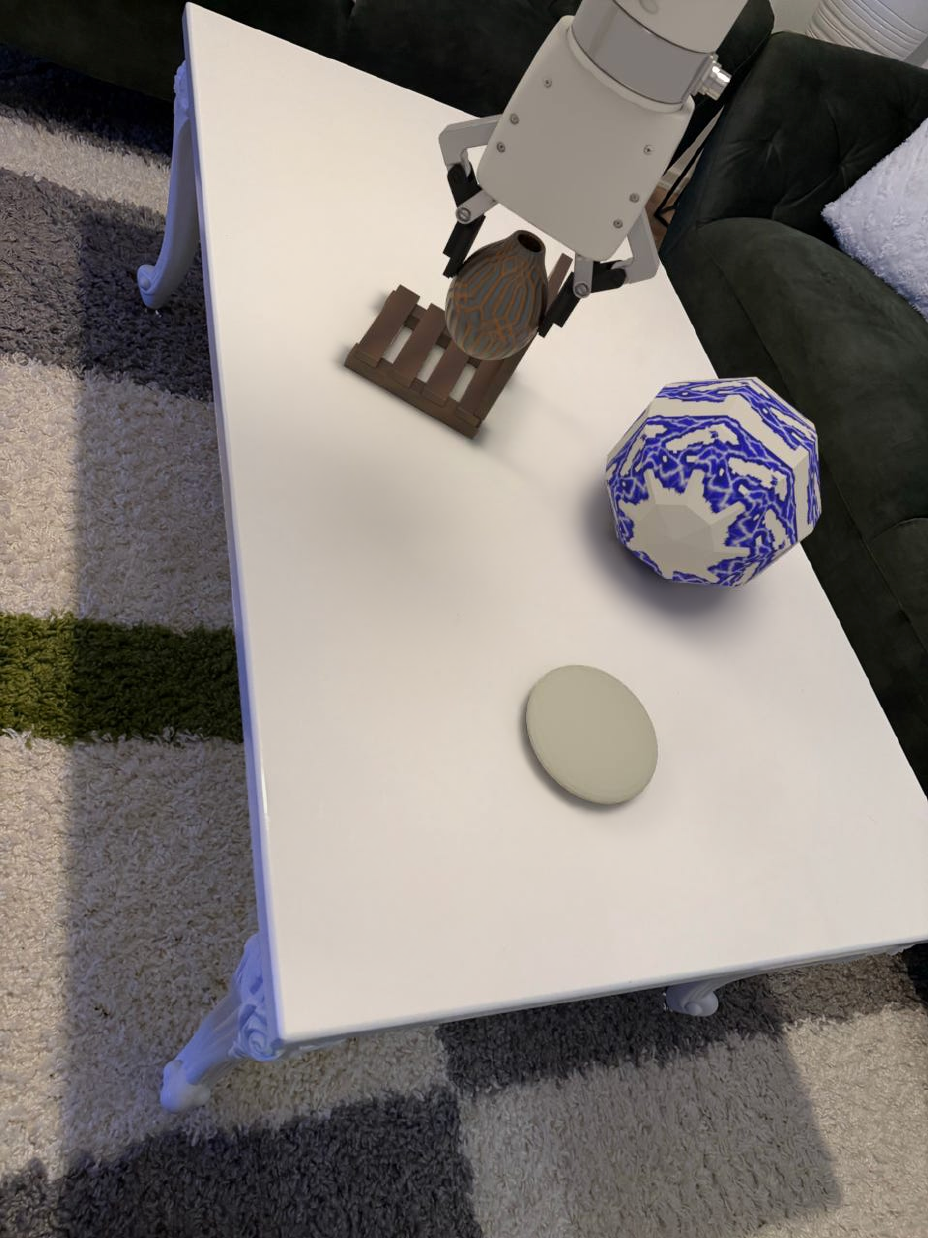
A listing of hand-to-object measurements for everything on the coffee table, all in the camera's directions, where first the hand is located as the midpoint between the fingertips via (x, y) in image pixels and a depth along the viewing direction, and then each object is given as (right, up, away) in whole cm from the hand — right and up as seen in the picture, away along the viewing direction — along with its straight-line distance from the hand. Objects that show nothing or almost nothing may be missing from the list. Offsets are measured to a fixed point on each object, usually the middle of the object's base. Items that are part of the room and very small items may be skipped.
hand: (500, 295), depth 62 cm
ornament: (+17, -15, +27) cm, 35 cm away
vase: (-2, -2, +3) cm, 4 cm away
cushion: (+7, -33, +11) cm, 35 cm away
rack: (-6, +2, +26) cm, 27 cm away
